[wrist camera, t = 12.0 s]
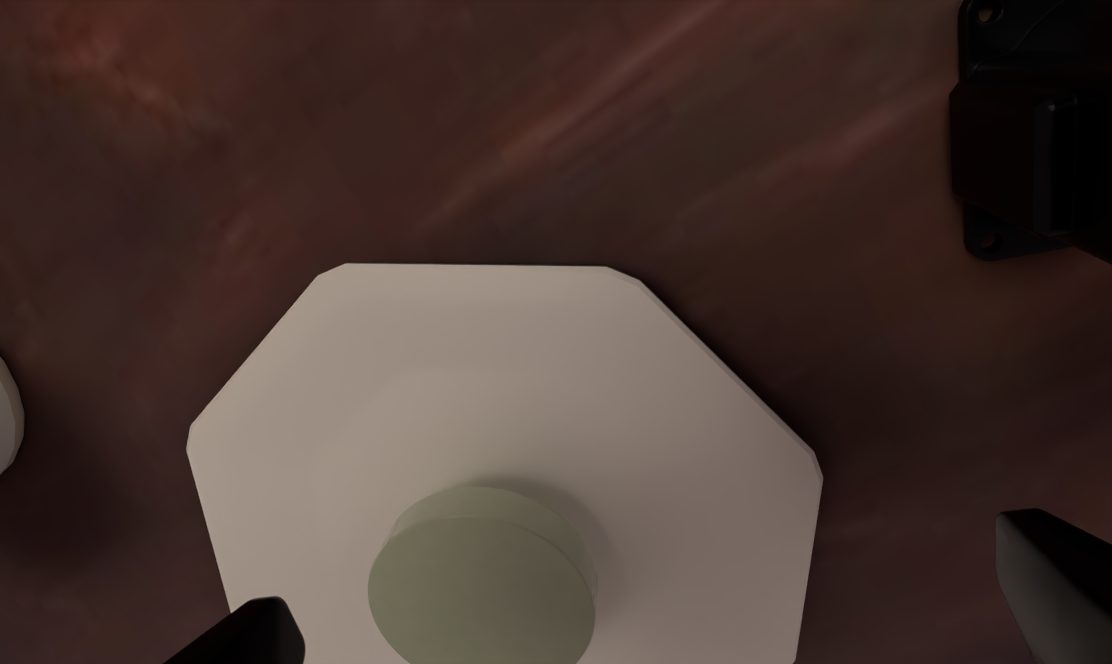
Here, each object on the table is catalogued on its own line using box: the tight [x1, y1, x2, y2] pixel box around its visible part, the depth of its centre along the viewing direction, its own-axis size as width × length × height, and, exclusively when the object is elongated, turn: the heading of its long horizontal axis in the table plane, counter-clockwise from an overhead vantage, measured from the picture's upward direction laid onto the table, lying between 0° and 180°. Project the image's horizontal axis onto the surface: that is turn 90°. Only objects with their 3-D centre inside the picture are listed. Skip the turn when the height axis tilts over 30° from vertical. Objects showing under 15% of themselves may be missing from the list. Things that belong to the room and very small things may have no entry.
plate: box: [186, 262, 823, 664], centre depth 23 cm, size 20×20×2 cm
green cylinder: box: [368, 486, 598, 664], centre depth 21 cm, size 7×7×2 cm
